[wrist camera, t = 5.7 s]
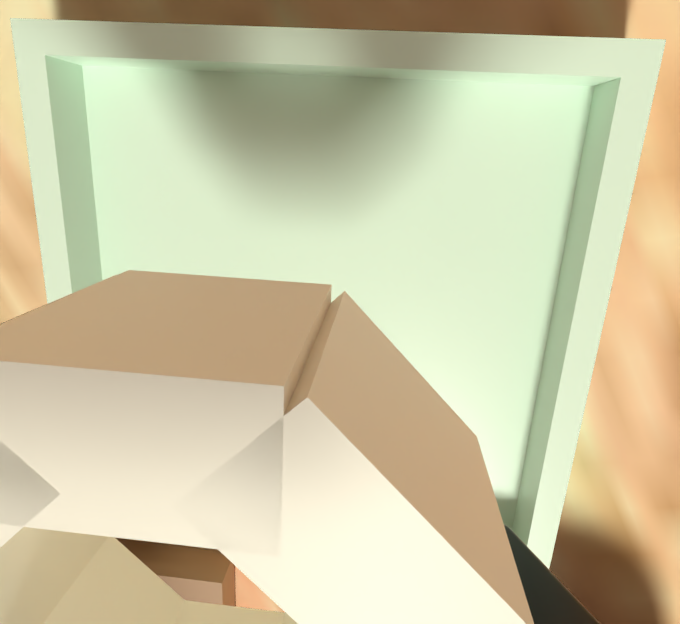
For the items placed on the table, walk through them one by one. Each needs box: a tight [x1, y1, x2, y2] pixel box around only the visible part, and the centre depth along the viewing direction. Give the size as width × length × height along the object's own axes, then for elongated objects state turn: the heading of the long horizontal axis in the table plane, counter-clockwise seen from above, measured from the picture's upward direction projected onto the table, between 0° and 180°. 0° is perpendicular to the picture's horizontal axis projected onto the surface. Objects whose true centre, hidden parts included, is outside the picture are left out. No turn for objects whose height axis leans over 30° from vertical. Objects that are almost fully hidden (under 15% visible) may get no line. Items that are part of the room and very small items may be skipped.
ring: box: [0, 270, 534, 624], centre depth 6 cm, size 7×7×3 cm
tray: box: [10, 18, 666, 569], centre depth 15 cm, size 16×16×2 cm
